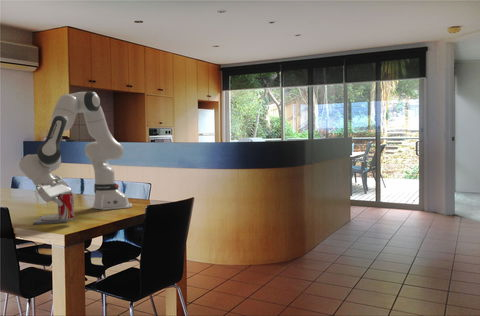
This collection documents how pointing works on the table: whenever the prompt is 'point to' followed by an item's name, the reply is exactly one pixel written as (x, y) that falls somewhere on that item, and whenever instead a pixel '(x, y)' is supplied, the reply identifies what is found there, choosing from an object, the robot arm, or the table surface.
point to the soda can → (66, 206)
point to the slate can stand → (49, 219)
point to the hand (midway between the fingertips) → (66, 203)
